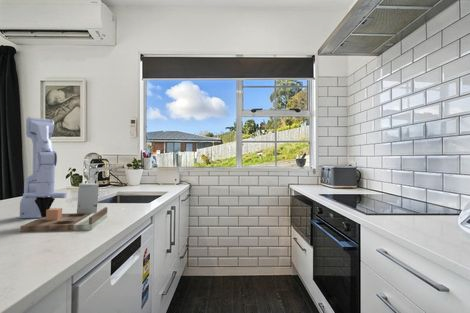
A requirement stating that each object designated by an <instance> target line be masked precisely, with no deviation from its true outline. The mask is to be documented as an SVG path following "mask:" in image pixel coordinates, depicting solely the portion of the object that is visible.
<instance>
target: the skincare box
mask: <svg viewBox="0 0 470 313" xmlns="http://www.w3.org/2000/svg"><path fill="white" fill-rule="evenodd" d="M98 201H99V183H93V182H92V183H87V182H84V183H80V182H79V184H78V193H77V205H76V206H77V207H76V213H97V212H98V203H99V202H98Z"/></svg>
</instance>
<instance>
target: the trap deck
mask: <svg viewBox="0 0 470 313" xmlns="http://www.w3.org/2000/svg"><path fill="white" fill-rule="evenodd" d="M107 218H108V207H106V206H105V207H103V208H102V209H100V210H99V211H97V213H77V212H76V213H62V218H61V219H59V220H46V217H41V218H36V219H35V220H33V221H30V222H27V223H25V224H23V225H20V228H19V230H20V231H19V232H20V233H28V232H29V233H30V232H31V233H32V232H33V233H35V232H37V233H38V232H64V231H92V230H93V229H95V228H96V227H98V225H100V224H101V223H102V222H103V221H105V220H106V219H107Z"/></svg>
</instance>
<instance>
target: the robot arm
mask: <svg viewBox="0 0 470 313" xmlns="http://www.w3.org/2000/svg"><path fill="white" fill-rule="evenodd" d="M25 122H26V123H25V129H26V130H25V131H26V132H25V135H26V137H27V138H29V139H31V143H32V174H31V175H29V176H28V177H26V178H25V179H24V184H23V193H22V198H21V200H20V202H19V216H18V219H39V218H41V217H46V210H48V209H50V208H52V207H51V206H52V205H53V203H54V201H55V200H56V199H66V198H67V192H55V177H56V176H55V174H56V173H55V172H56V170H55V169H56V166H57V165H58V164H57V163H58V154H57V152H56V150H54V144H53V142H52V141H51V138H52V136H53V133H54V129H55V121H54V120H53V119H52V118H50V119H49V118H39V117H31V116H28V117H27V118H26V120H25Z"/></svg>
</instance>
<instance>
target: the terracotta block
mask: <svg viewBox="0 0 470 313" xmlns="http://www.w3.org/2000/svg"><path fill="white" fill-rule="evenodd" d="M62 214H63V207H50V209H48V210H46V220H59V219H61V218H62Z"/></svg>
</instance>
